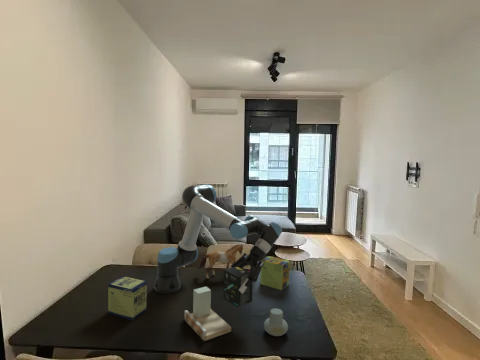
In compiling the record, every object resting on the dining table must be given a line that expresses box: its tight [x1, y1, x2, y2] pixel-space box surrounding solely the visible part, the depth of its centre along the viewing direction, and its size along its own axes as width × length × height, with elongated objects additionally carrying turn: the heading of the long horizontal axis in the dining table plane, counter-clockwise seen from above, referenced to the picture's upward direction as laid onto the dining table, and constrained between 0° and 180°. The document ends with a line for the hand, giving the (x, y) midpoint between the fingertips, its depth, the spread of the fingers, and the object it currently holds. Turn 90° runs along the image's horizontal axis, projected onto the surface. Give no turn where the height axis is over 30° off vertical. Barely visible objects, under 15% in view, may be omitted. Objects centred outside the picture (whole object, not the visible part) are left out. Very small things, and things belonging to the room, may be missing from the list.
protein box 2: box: [259, 256, 291, 291], centre depth 189 cm, size 10×15×16 cm
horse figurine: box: [196, 244, 245, 279], centre depth 199 cm, size 31×8×21 cm, turn 102°
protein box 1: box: [107, 276, 148, 321], centre depth 151 cm, size 10×16×16 cm
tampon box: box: [223, 267, 253, 308], centre depth 143 cm, size 11×9×15 cm
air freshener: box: [263, 307, 289, 337], centre depth 138 cm, size 11×8×10 cm
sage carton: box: [192, 286, 212, 318], centre depth 148 cm, size 5×7×12 cm
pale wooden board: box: [184, 309, 232, 342], centre depth 142 cm, size 20×14×4 cm
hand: (233, 286), depth 142 cm, fingers closed on tampon box, 11 cm apart
